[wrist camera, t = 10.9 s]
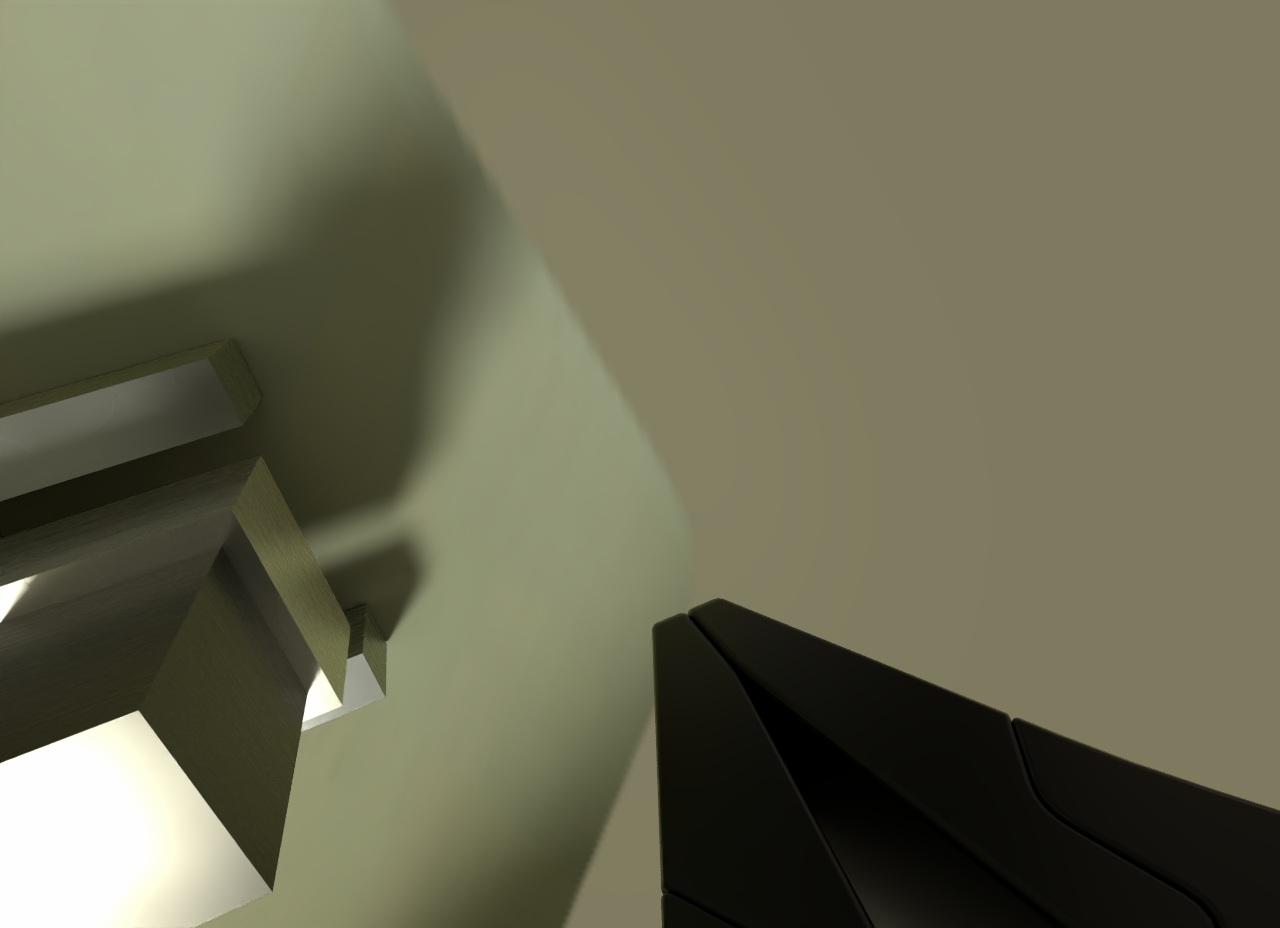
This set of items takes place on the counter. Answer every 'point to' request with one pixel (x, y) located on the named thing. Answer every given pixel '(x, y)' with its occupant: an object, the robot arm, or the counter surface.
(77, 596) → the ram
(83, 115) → the counter surface
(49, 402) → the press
